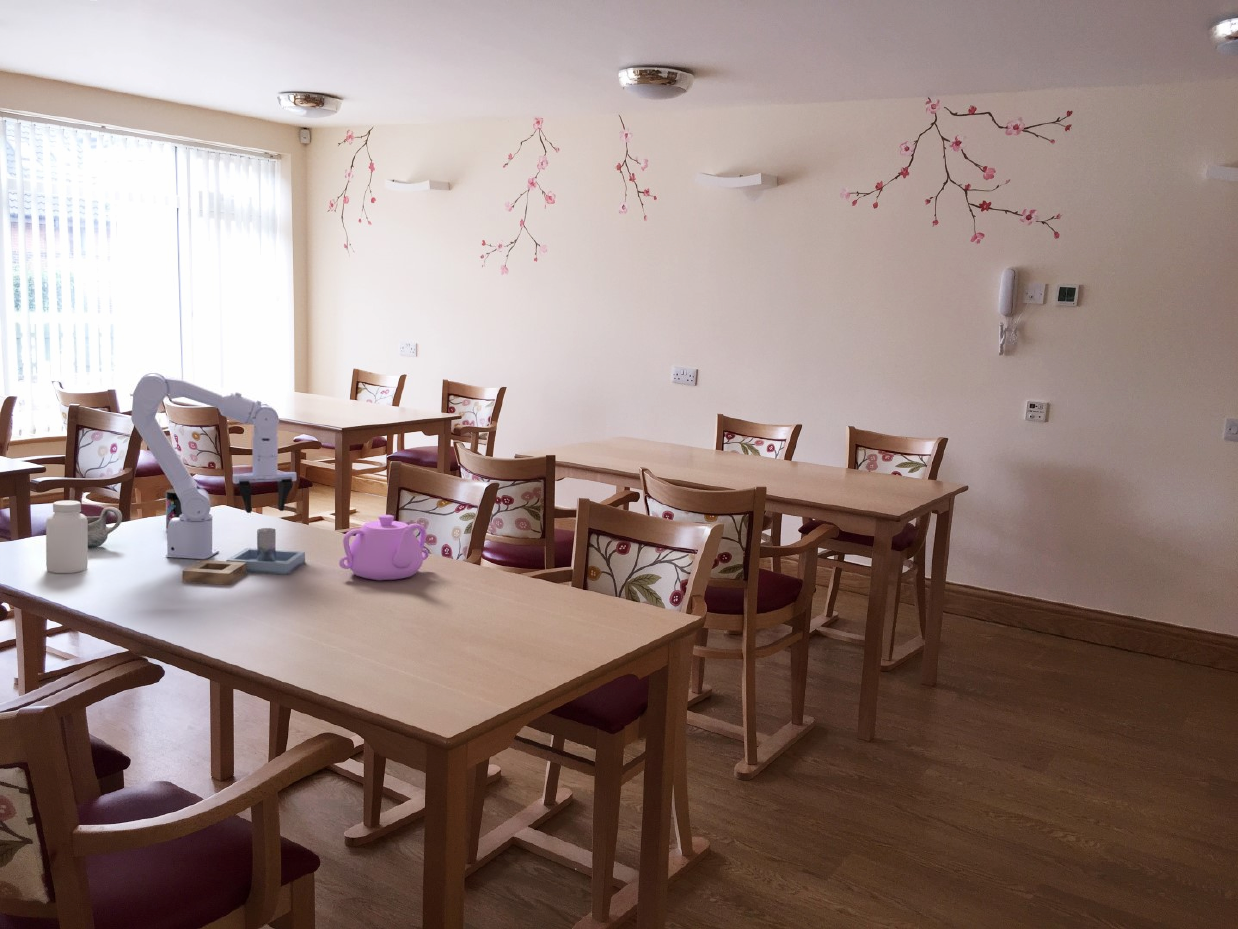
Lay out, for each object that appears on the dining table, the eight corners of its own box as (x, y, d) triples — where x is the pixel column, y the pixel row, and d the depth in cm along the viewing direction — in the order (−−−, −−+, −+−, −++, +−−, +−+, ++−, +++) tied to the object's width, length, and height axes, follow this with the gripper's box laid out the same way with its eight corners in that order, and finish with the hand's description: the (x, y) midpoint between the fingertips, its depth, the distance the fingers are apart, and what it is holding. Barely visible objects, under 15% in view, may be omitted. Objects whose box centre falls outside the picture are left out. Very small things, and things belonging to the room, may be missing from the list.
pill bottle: (86, 573, 217) (84, 505, 215) (43, 575, 214) (42, 506, 212) (90, 564, 225) (89, 498, 222) (49, 565, 222) (48, 499, 219)
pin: (254, 565, 230) (254, 531, 229) (261, 561, 234) (261, 527, 233) (271, 566, 230) (271, 532, 229) (278, 562, 234) (278, 528, 233)
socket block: (182, 582, 215) (182, 570, 215) (202, 570, 225) (202, 559, 225) (228, 584, 215) (228, 573, 215) (246, 573, 225) (246, 562, 225)
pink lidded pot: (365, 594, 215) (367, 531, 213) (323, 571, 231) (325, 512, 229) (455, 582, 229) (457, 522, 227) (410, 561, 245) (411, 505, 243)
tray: (226, 570, 226) (226, 560, 226) (246, 558, 238) (246, 548, 238) (287, 574, 226) (288, 563, 226) (304, 562, 238) (305, 551, 238)
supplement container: (172, 526, 266) (172, 487, 265) (198, 528, 266) (198, 489, 265) (161, 531, 260) (161, 492, 258) (187, 533, 260) (187, 493, 258)
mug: (64, 544, 241) (64, 503, 239) (123, 542, 246) (122, 502, 245) (61, 553, 232) (61, 511, 231) (122, 551, 238) (121, 510, 236)
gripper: (237, 459, 233) (237, 516, 235) (300, 457, 241) (299, 512, 243) (230, 454, 239) (230, 510, 241) (291, 452, 247) (291, 507, 249)
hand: (264, 511), depth 243 cm, fingers open, 7 cm apart
